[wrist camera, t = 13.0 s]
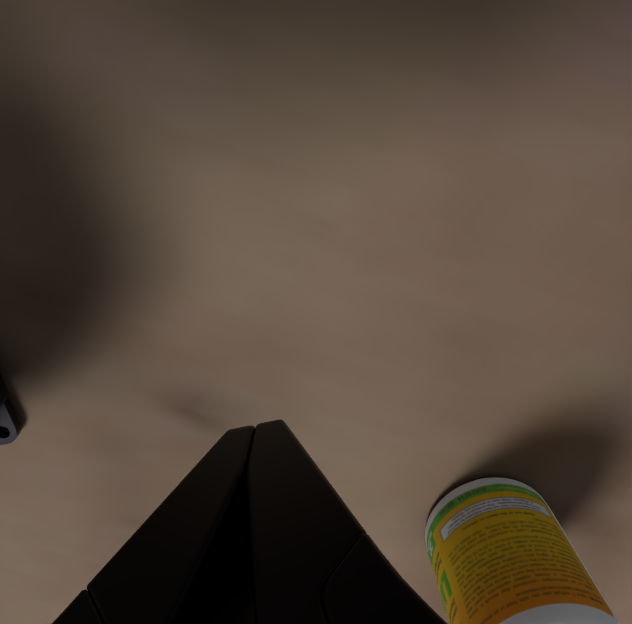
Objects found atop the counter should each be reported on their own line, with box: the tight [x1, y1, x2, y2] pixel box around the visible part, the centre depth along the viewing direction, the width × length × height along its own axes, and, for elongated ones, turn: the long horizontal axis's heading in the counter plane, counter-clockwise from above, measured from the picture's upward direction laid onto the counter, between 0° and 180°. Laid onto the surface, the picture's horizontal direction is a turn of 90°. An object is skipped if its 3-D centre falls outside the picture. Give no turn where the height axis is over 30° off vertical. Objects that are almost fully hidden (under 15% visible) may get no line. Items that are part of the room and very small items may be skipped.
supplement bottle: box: [425, 477, 620, 624], centre depth 21 cm, size 5×5×10 cm
